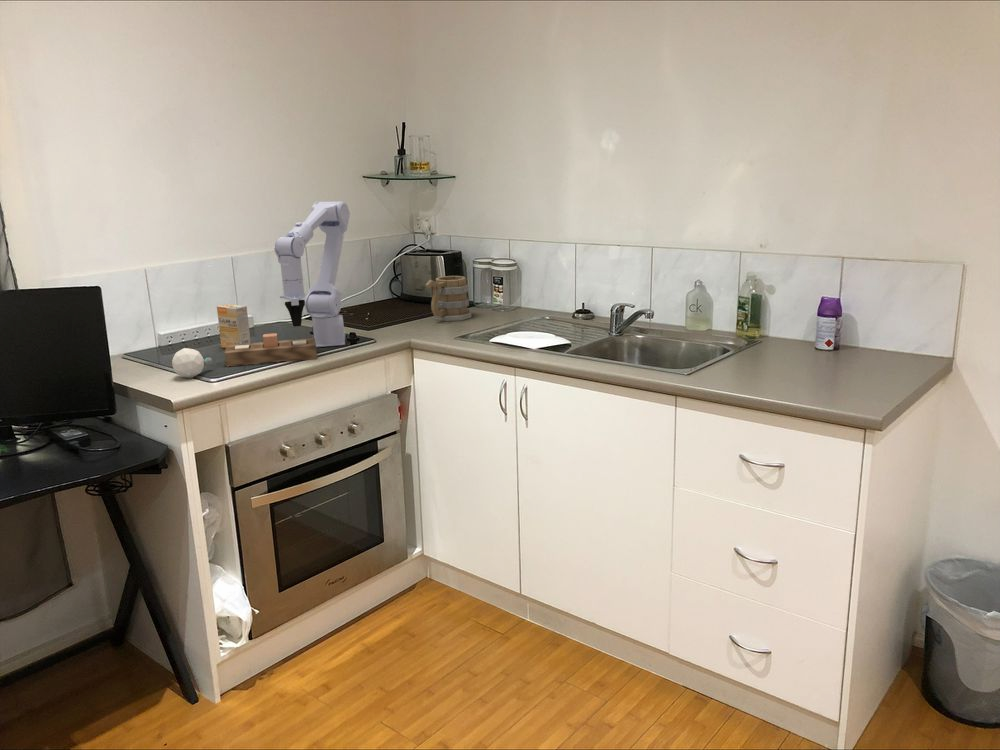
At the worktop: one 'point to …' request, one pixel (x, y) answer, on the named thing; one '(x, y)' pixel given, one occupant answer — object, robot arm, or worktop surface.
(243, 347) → the cream cap
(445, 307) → the tankard
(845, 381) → the worktop surface
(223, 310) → the supplement box
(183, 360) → the faceted white ball
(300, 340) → the cream cap
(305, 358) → the brown wooden rack
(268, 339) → the salmon pink cube
